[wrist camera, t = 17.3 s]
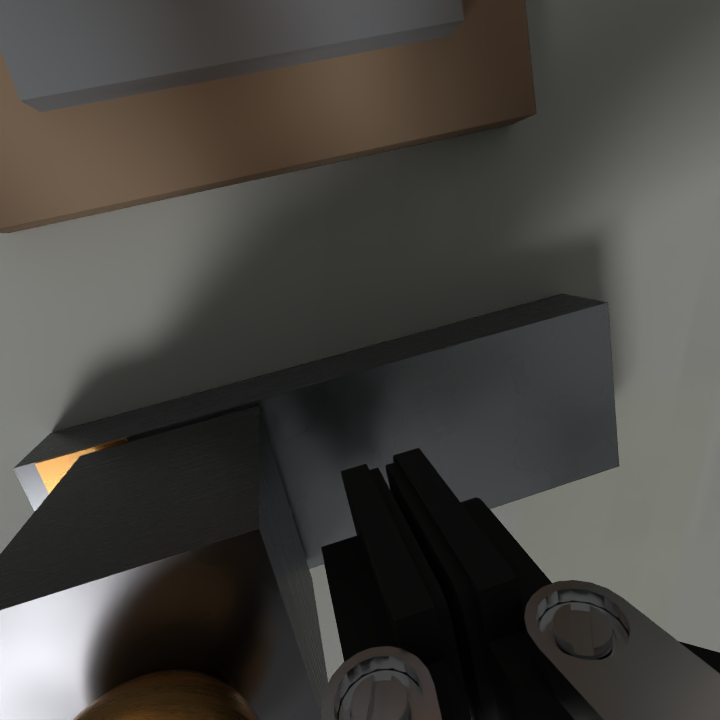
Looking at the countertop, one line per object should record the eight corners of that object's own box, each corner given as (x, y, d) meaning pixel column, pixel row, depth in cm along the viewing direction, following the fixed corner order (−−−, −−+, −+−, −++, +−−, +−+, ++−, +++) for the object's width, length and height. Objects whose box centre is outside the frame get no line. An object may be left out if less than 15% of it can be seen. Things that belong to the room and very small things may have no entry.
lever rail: (562, 293, 15) (610, 303, 13) (576, 439, 16) (621, 467, 14) (49, 433, 13) (11, 470, 11) (118, 584, 14) (95, 642, 12)
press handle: (258, 405, 11) (258, 734, 4) (312, 578, 13) (386, 1058, 5) (80, 455, 11) (-323, 952, 3) (157, 630, 12) (-2, 1246, 5)
